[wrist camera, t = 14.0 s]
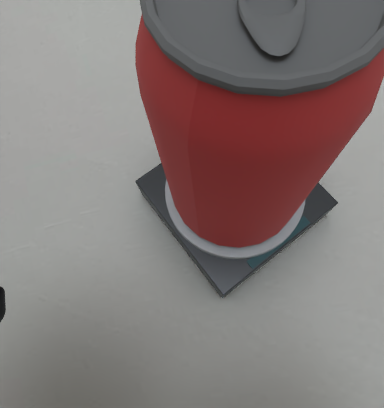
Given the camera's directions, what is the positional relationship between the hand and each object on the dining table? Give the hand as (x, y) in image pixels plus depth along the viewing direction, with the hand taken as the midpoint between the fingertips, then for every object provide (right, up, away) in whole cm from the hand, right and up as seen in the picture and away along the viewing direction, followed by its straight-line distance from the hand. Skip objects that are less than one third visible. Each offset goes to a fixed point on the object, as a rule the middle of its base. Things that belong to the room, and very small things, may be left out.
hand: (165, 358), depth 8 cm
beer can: (+3, +4, +10) cm, 12 cm away
